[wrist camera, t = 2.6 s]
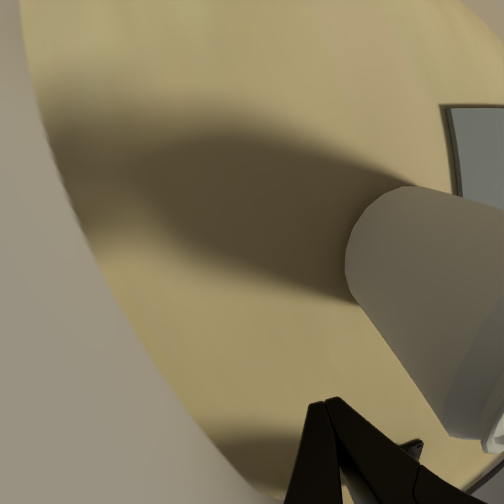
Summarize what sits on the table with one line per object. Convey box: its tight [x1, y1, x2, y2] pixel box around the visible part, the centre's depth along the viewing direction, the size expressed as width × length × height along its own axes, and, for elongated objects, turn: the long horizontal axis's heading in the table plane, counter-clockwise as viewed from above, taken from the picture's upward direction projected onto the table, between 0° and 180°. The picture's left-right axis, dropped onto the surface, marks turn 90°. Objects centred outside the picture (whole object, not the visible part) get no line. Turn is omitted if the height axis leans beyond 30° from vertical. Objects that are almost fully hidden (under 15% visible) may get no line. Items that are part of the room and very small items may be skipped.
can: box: [345, 186, 504, 454], centre depth 10 cm, size 8×8×12 cm
